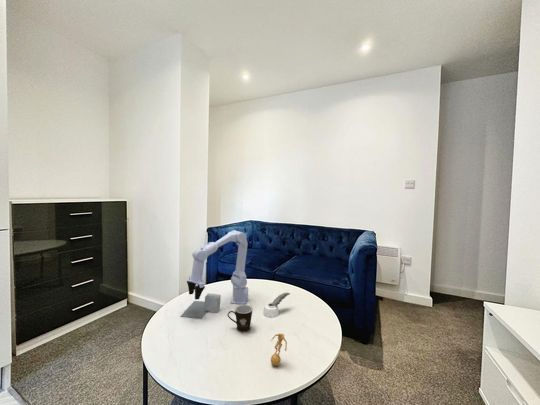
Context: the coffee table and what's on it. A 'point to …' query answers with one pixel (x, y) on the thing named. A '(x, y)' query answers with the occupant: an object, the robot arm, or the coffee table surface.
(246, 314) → the coffee mug
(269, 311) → the inkwell
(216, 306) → the medicine box
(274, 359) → the figurine
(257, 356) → the coffee table surface
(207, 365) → the coffee table surface
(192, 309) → the mat
